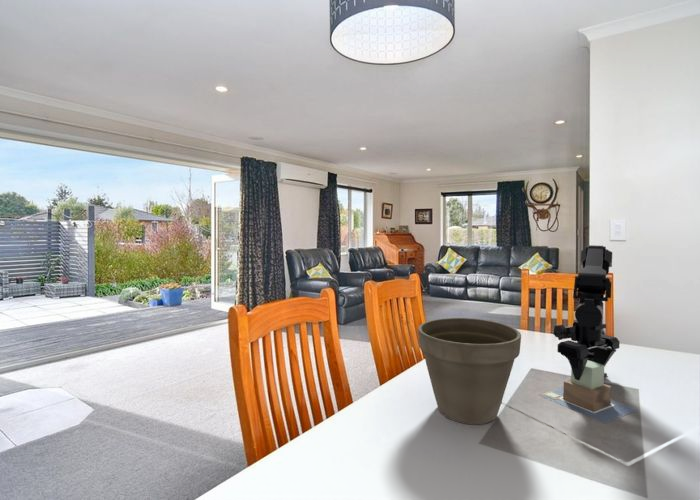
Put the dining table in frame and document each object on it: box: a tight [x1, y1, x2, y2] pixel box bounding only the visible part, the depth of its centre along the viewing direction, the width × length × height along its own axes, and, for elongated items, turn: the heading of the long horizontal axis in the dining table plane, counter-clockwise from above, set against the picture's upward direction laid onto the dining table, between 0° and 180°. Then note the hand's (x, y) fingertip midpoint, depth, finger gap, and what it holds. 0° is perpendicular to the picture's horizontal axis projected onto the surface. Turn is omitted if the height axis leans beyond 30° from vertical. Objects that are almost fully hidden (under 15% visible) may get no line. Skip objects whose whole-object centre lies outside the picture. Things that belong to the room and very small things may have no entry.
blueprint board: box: [538, 386, 639, 424], centre depth 107 cm, size 15×18×1 cm
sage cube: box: [570, 360, 605, 389], centre depth 106 cm, size 6×6×6 cm
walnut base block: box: [563, 378, 612, 411], centre depth 106 cm, size 8×8×5 cm
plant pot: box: [417, 317, 522, 425], centre depth 101 cm, size 25×25×22 cm
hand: (587, 376), depth 106 cm, fingers open, 9 cm apart
